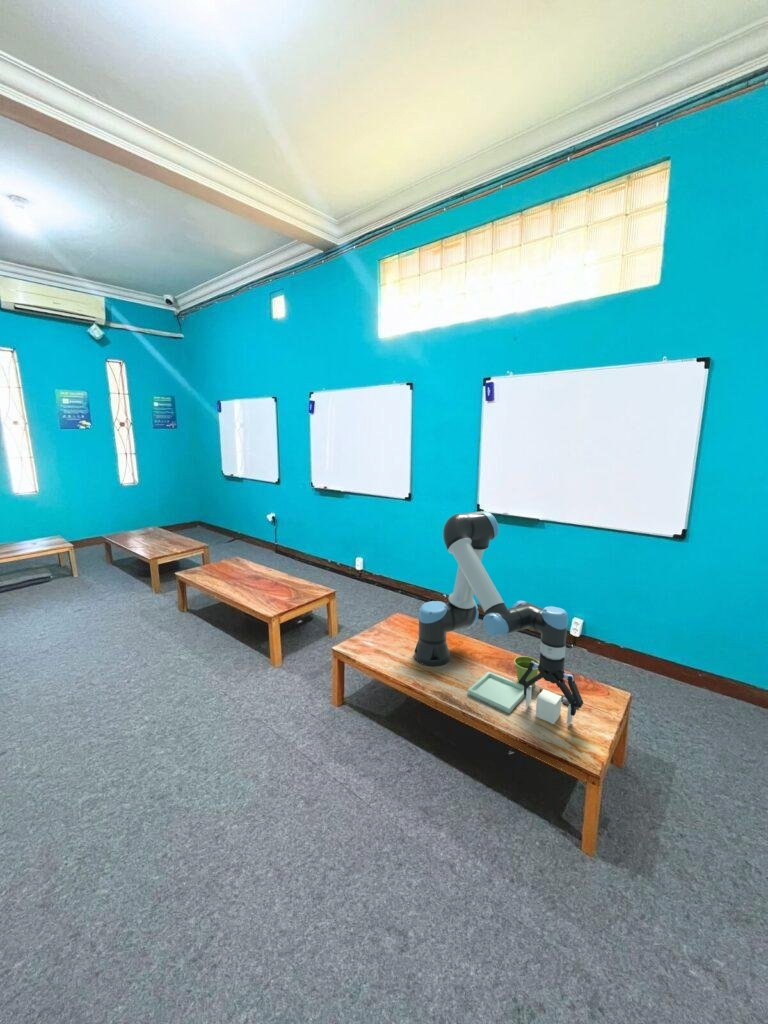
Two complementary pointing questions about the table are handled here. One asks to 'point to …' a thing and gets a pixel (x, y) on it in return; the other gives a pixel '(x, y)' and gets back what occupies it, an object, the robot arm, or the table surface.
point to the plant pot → (525, 667)
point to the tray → (497, 692)
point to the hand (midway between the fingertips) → (548, 713)
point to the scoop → (562, 698)
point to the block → (548, 706)
